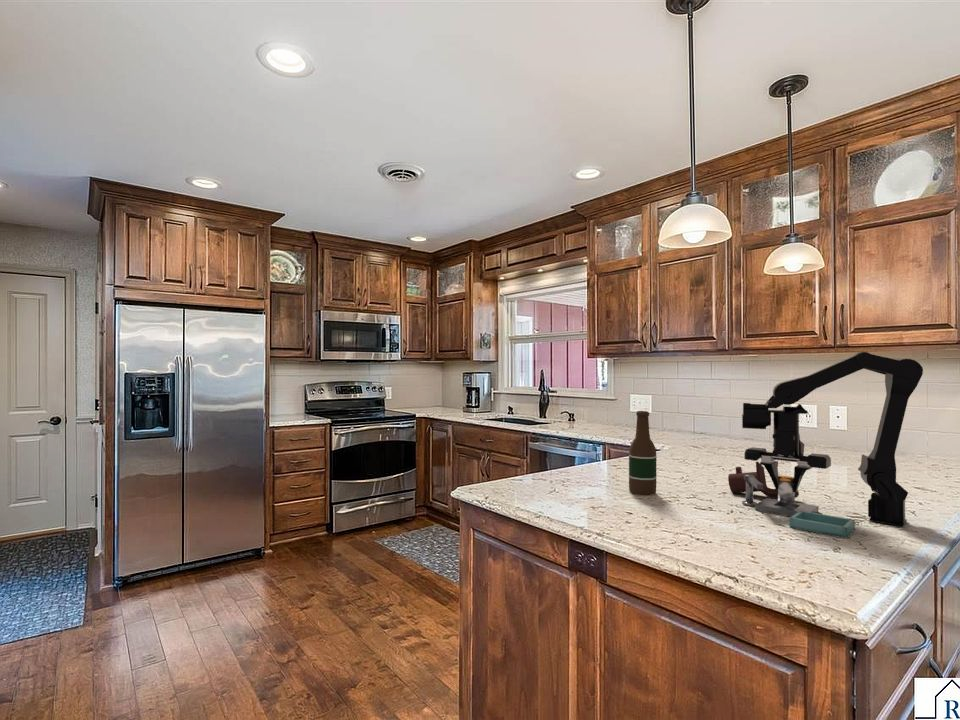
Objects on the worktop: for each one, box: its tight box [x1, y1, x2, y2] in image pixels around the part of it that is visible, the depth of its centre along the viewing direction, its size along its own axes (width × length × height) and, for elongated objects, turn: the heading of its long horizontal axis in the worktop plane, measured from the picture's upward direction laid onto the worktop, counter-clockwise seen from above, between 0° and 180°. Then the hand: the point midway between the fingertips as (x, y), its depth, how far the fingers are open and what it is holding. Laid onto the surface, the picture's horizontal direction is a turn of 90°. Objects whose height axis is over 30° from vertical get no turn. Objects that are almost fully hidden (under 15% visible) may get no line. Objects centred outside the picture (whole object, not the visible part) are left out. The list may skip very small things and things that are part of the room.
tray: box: [789, 511, 856, 539], centre depth 121 cm, size 11×9×2 cm
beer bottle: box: [628, 410, 657, 496], centre depth 156 cm, size 8×8×24 cm
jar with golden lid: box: [778, 475, 796, 503], centre depth 136 cm, size 4×4×6 cm
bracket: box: [727, 461, 800, 499], centre depth 152 cm, size 6×17×10 cm, turn 53°
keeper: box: [744, 475, 763, 490], centre depth 138 cm, size 13×3×1 cm, turn 165°
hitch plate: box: [741, 481, 819, 517], centre depth 138 cm, size 17×10×6 cm, turn 46°
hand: (786, 490), depth 136 cm, fingers closed on jar with golden lid, 4 cm apart
